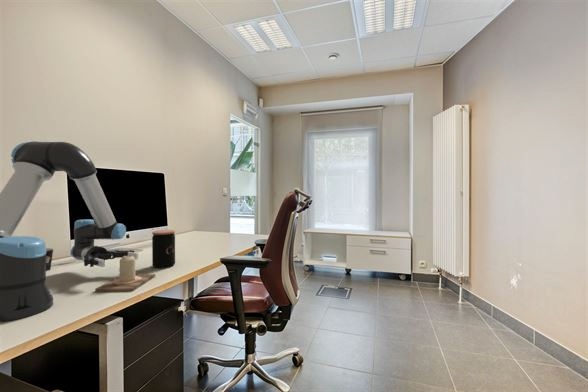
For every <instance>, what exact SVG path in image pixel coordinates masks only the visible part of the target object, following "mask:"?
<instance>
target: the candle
mask: <svg viewBox="0 0 588 392" xmlns="http://www.w3.org/2000/svg"><path fill="white" fill-rule="evenodd" d="M135 274H136V260H135V258H134V257H133V256H132V255H128V256H123V258H120V259H119V276H120V281H121V282H127V281H132V280H134V279H135Z"/></svg>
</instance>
